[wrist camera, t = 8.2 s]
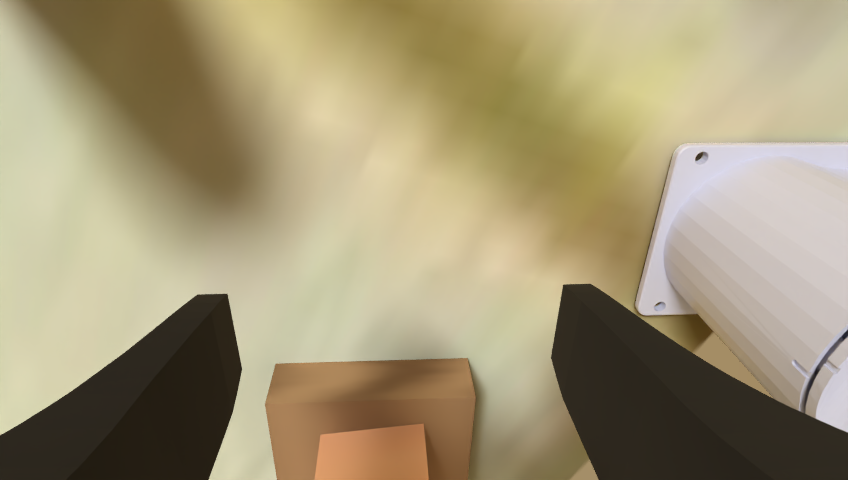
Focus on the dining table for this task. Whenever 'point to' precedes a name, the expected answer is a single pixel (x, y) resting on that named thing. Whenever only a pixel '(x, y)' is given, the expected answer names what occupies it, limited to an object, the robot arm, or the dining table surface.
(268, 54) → the dining table surface
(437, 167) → the dining table surface
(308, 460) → the block
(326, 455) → the peach foam cube
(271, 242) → the dining table surface
